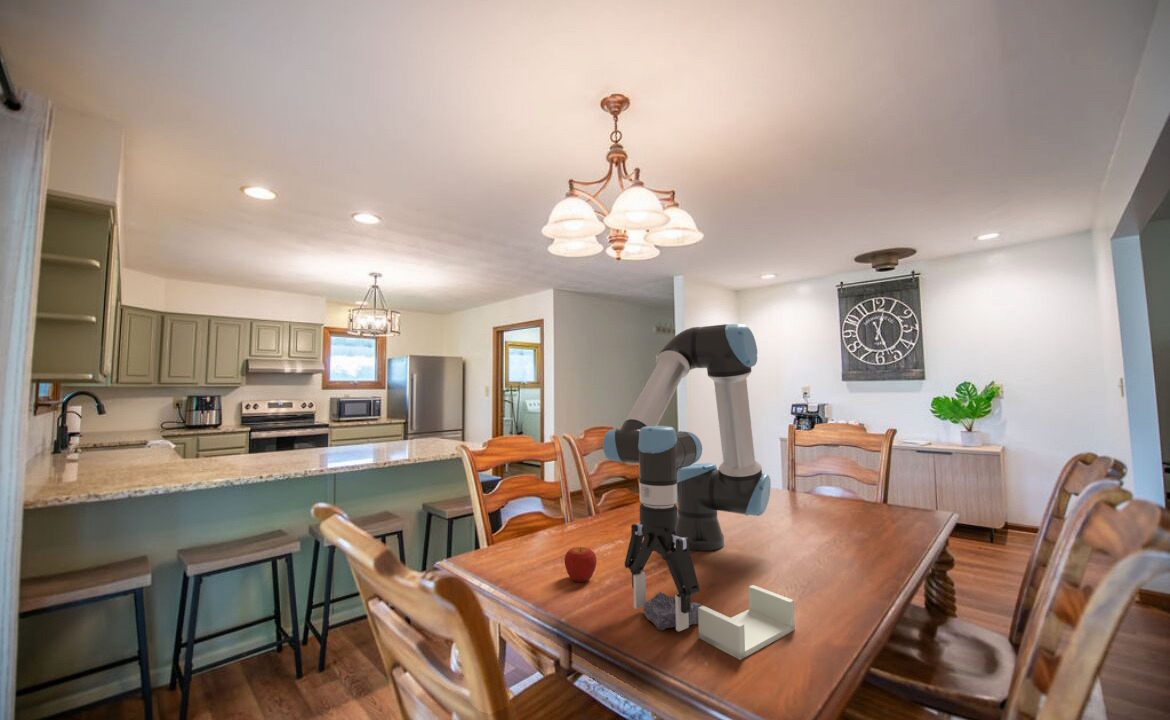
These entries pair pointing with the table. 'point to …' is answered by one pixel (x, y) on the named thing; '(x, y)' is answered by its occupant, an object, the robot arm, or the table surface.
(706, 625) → the u rest
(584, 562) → the apple
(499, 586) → the table surface
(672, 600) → the rock
